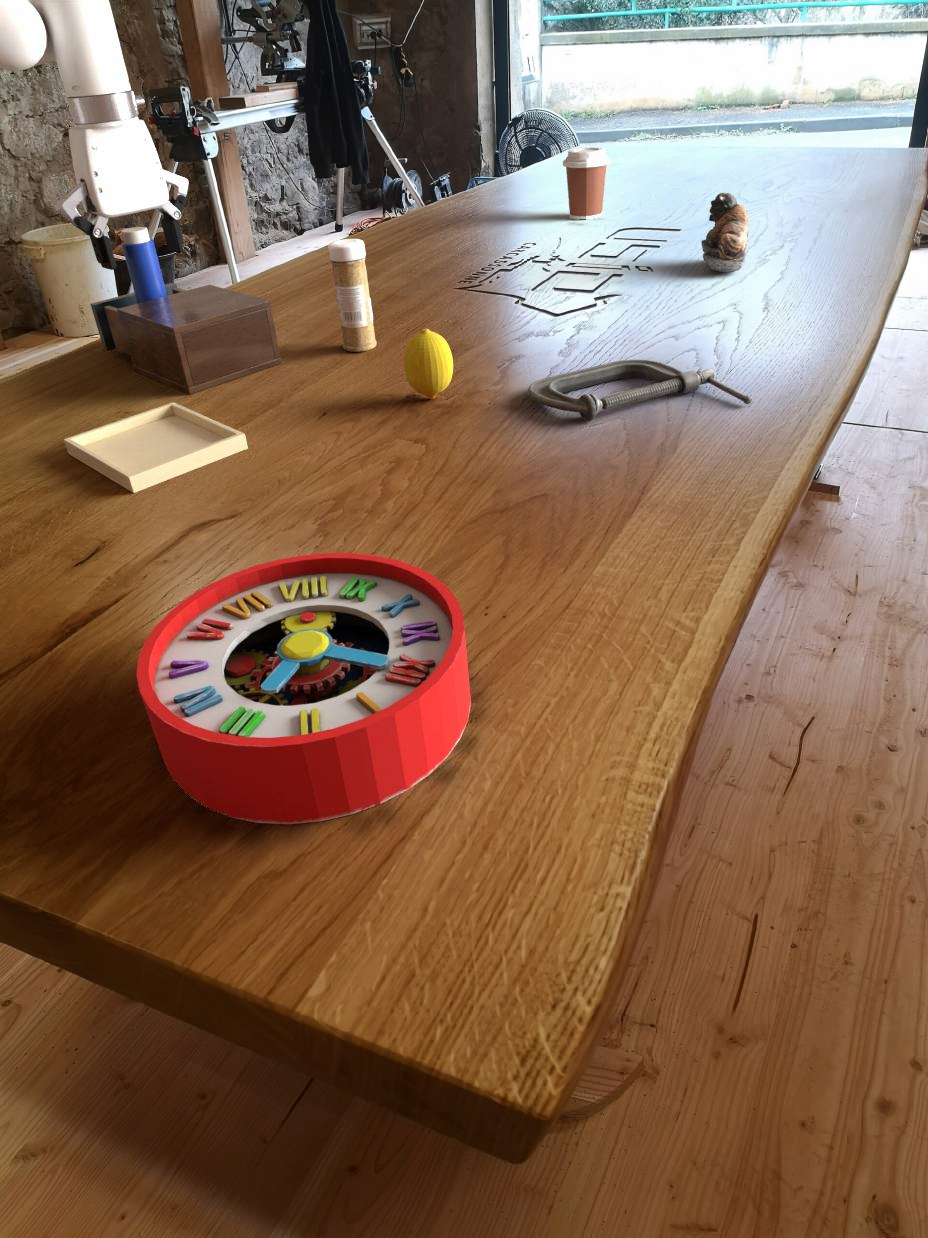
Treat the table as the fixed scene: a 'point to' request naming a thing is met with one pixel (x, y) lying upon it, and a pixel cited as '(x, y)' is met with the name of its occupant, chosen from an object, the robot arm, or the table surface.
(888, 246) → the table surface
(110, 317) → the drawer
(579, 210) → the coffee cup
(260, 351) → the cabinet
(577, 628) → the table surface
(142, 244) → the water bottle
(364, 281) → the sprinkles bottle
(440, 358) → the lemon
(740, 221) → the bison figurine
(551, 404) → the c clamp
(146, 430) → the tray
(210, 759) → the toy clock
